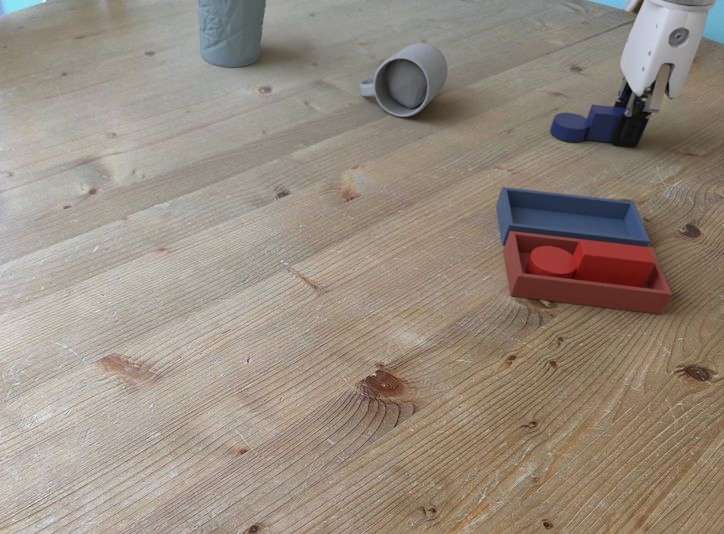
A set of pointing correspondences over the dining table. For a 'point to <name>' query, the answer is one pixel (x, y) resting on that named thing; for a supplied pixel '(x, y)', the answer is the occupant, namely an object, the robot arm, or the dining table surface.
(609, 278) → the red cylinder-cube piece
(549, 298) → the red bin
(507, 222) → the blue bin
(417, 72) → the ceramic mug
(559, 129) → the blue cylinder-cube block
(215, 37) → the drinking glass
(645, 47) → the robot arm
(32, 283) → the dining table surface
